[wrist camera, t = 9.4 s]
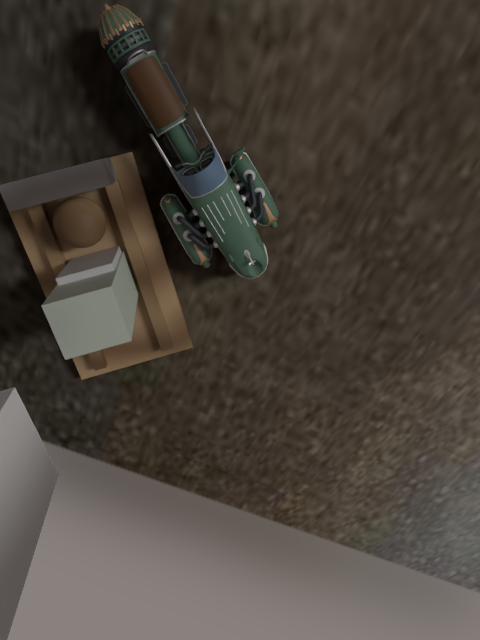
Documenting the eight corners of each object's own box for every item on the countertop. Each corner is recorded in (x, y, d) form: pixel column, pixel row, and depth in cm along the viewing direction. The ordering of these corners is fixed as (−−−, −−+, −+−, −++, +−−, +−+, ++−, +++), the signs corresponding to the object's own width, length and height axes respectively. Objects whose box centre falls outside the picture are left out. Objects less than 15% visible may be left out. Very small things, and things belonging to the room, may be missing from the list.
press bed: (2, 185, 40) (-29, 192, 34) (132, 151, 41) (127, 152, 34) (83, 374, 48) (71, 410, 41) (192, 342, 49) (197, 373, 42)
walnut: (51, 201, 40) (38, 207, 36) (99, 188, 41) (92, 193, 37) (69, 248, 42) (59, 258, 38) (115, 235, 42) (110, 245, 38)
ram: (69, 258, 42) (37, 297, 31) (121, 244, 42) (108, 278, 31) (88, 307, 44) (65, 359, 33) (138, 293, 44) (131, 340, 33)
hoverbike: (211, 289, 47) (221, 316, 40) (60, 46, 38) (35, 19, 30) (290, 242, 47) (315, 261, 39) (158, -15, 37) (158, -58, 30)
